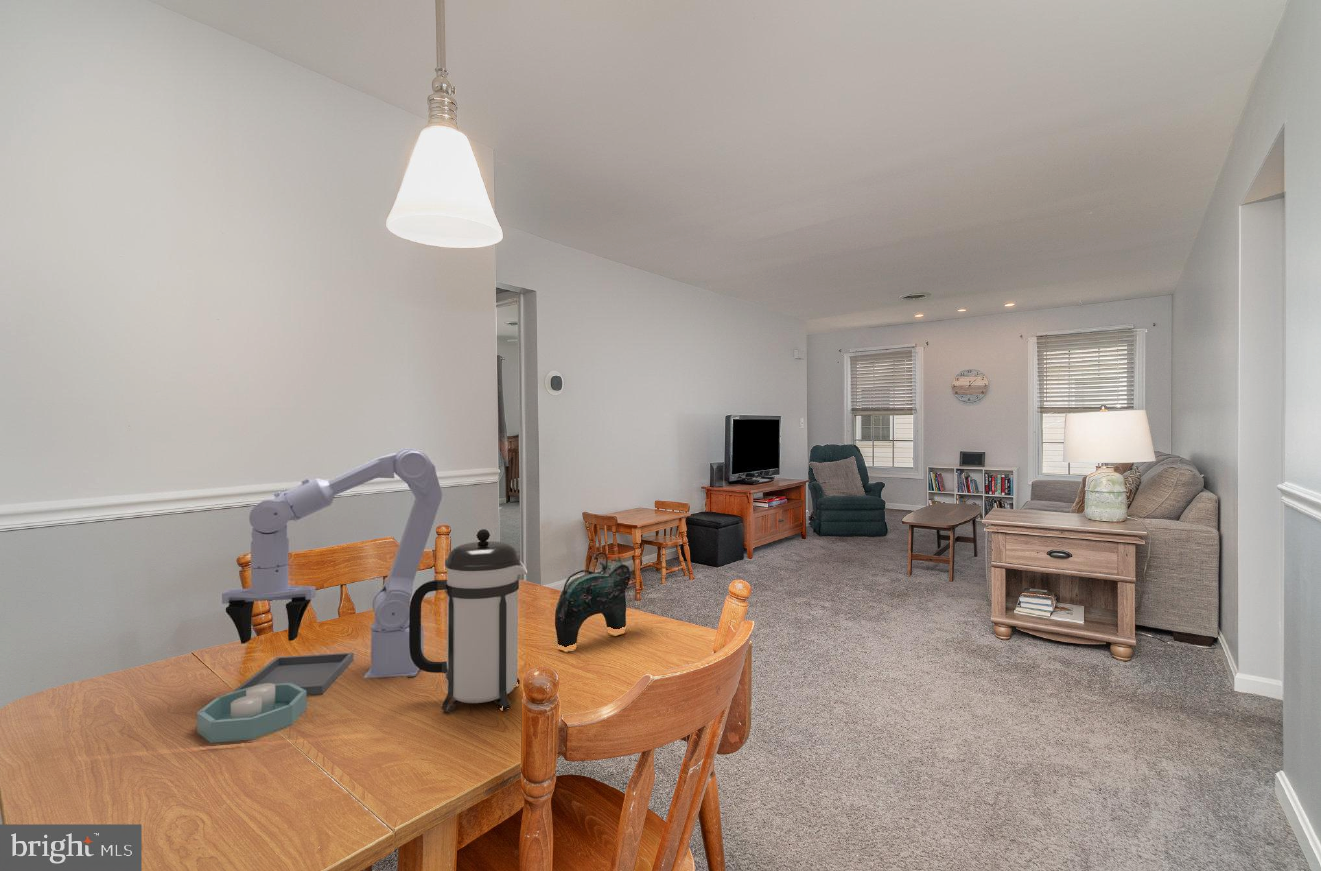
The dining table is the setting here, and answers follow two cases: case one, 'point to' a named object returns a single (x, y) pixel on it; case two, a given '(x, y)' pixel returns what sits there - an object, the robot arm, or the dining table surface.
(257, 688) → the pebble
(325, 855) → the dining table surface
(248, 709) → the pebble
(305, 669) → the parts tray
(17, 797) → the dining table surface
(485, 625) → the coffee press
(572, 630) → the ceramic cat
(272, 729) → the bowl
